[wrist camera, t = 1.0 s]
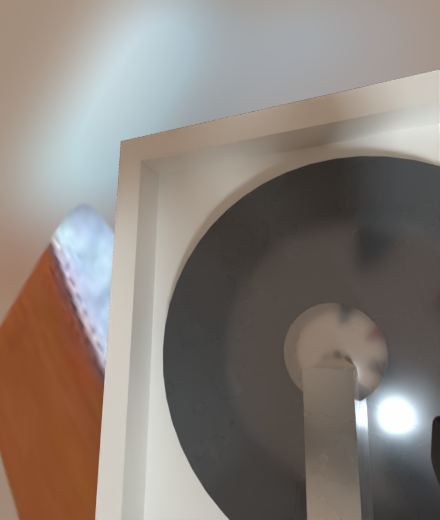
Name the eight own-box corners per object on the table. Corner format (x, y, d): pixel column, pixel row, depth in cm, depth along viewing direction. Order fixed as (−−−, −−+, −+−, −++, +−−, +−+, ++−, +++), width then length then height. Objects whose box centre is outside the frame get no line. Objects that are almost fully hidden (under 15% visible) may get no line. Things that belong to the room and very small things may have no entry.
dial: (177, 192, 24) (117, 148, 19) (560, 131, 17) (633, 36, 12) (165, 536, 20) (85, 602, 15) (654, 645, 13) (823, 839, 8)
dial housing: (789, 764, 12) (964, 949, 8) (127, 578, 22) (70, 627, 18) (629, 68, 17) (694, -10, 14) (148, 162, 27) (107, 131, 23)
